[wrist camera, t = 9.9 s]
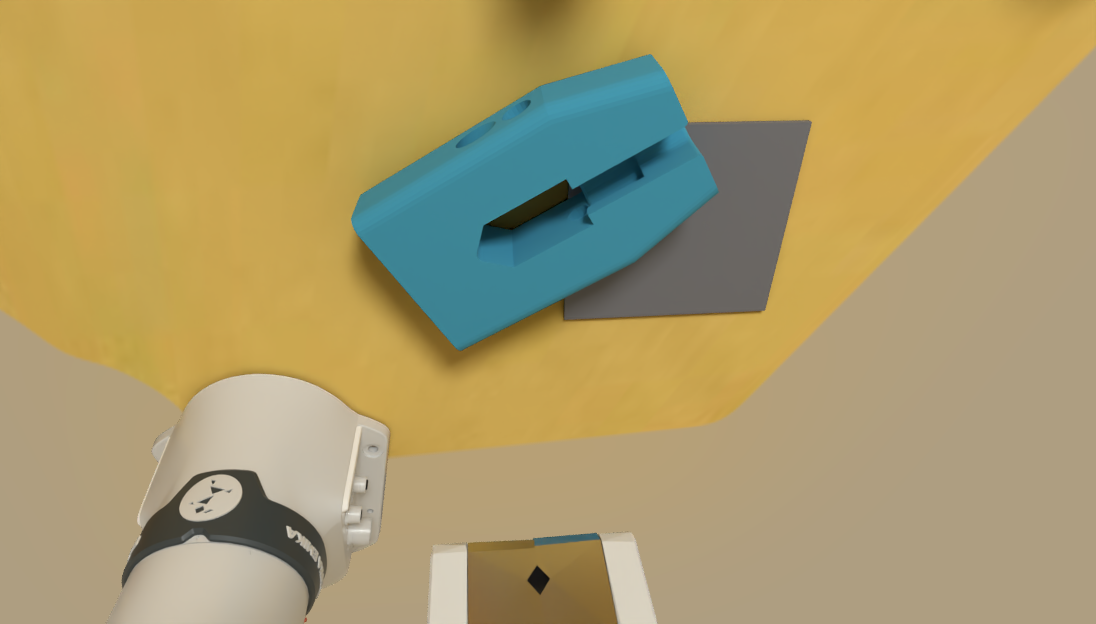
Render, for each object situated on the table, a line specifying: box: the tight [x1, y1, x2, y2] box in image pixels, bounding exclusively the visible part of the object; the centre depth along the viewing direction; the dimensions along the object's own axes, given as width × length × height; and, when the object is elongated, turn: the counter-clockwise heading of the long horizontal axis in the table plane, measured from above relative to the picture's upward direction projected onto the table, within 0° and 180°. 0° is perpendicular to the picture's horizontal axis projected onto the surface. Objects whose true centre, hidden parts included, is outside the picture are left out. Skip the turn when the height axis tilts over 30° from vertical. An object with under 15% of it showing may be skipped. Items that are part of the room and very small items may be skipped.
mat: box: [564, 120, 812, 320], centre depth 46 cm, size 15×16×1 cm
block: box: [351, 54, 719, 351], centre depth 41 cm, size 12×5×20 cm
